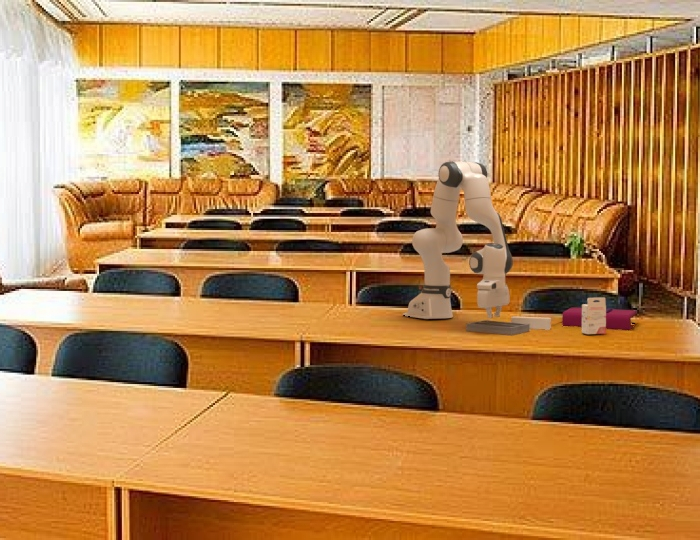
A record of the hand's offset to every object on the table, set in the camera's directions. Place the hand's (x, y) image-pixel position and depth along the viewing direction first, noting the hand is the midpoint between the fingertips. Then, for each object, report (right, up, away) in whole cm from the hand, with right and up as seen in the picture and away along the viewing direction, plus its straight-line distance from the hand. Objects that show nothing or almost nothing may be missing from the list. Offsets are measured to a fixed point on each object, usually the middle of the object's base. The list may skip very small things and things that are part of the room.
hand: (493, 317), depth 431 cm
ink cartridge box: (+40, -7, -1) cm, 41 cm away
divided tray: (+2, -6, +3) cm, 7 cm away
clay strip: (+17, -6, +11) cm, 21 cm away
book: (+48, -5, +21) cm, 52 cm away
